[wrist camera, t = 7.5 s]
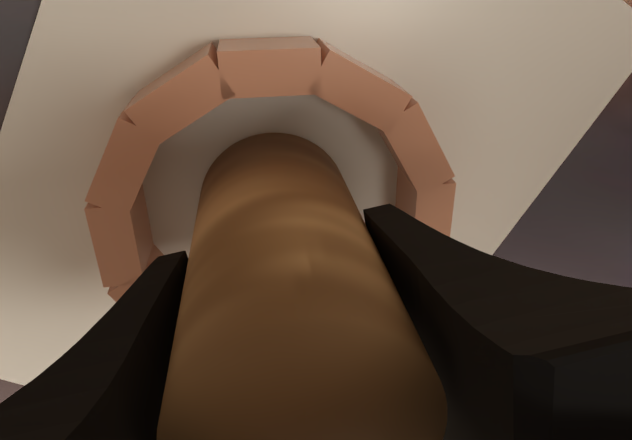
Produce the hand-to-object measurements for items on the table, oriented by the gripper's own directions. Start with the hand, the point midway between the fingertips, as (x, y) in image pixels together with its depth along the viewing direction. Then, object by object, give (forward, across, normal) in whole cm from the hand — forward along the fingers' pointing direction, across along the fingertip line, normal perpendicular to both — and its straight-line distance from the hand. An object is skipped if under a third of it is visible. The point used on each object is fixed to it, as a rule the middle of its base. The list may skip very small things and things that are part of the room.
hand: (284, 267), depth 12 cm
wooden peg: (+3, 0, 0) cm, 3 cm away
